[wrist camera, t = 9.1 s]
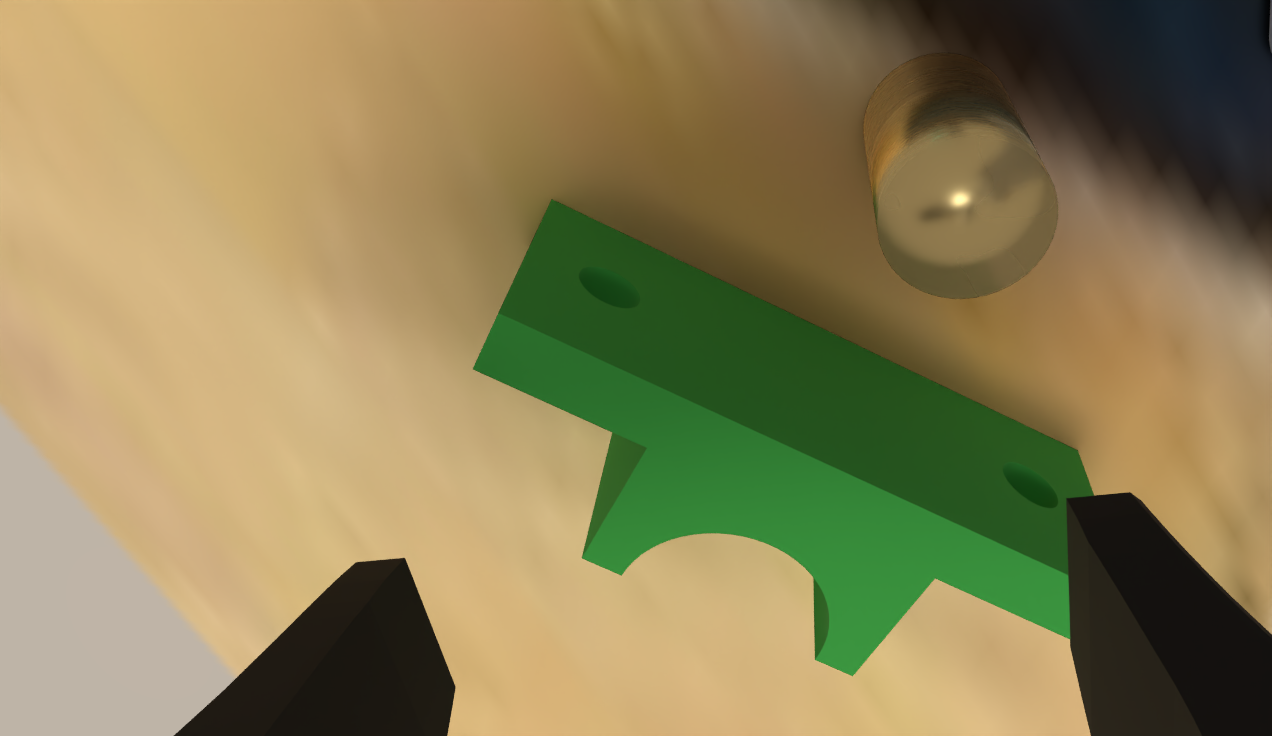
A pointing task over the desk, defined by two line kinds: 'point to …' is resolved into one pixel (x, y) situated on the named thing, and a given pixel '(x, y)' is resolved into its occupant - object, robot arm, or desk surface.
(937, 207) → the short pin
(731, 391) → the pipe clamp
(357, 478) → the desk surface
